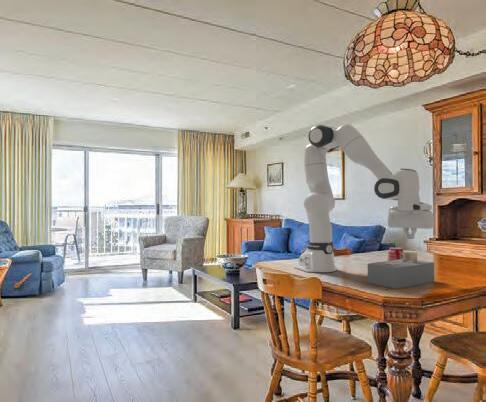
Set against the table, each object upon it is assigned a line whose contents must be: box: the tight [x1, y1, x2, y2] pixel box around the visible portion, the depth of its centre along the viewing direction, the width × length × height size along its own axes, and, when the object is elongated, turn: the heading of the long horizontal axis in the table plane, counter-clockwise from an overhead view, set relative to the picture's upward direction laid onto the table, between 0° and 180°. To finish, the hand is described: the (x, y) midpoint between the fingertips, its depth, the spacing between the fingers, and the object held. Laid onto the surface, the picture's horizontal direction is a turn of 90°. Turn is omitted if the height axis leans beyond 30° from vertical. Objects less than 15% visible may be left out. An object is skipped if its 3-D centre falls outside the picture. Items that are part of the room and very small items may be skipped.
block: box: [367, 259, 435, 290], centre depth 160 cm, size 14×24×8 cm, turn 120°
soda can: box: [387, 246, 405, 261], centre depth 180 cm, size 7×7×12 cm
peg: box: [403, 251, 418, 263], centre depth 163 cm, size 4×4×7 cm
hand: (410, 238), depth 163 cm, fingers closed
